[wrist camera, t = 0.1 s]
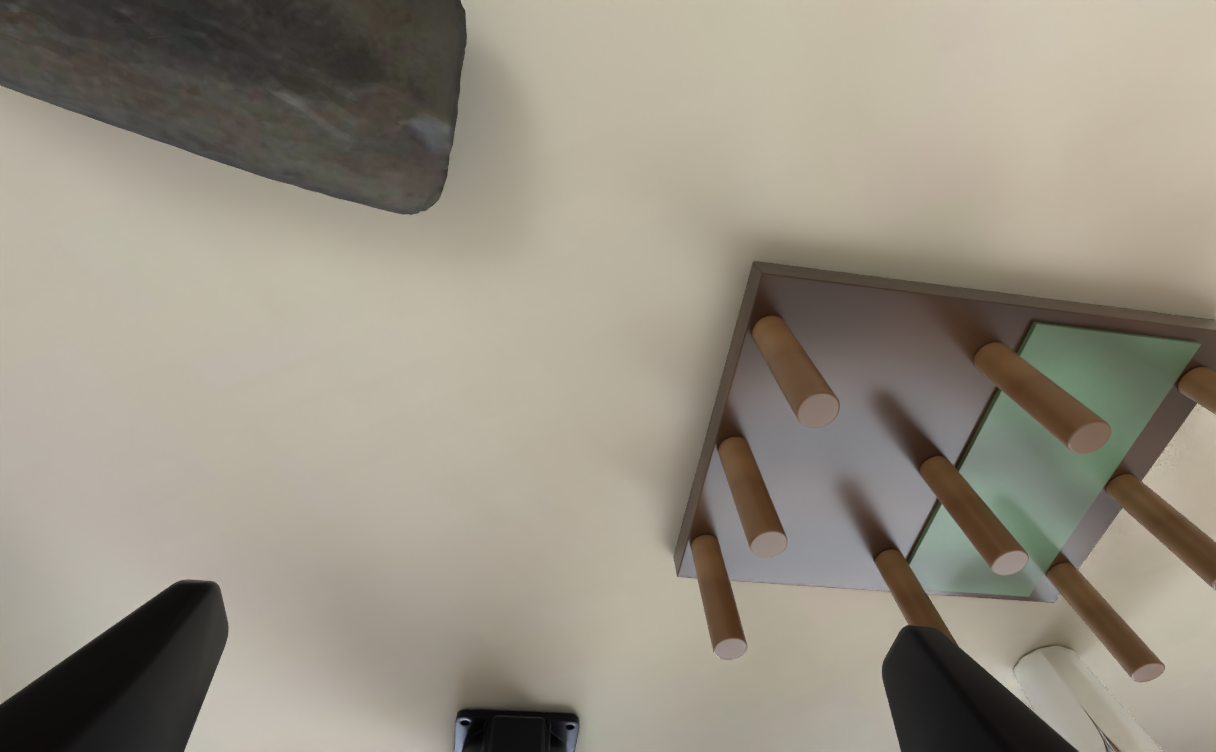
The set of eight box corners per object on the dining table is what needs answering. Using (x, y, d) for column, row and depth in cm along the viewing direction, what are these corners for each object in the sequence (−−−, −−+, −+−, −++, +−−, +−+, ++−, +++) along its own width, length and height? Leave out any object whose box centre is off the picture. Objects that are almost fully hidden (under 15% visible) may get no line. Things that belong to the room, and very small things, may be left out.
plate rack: (1037, 583, 30) (1138, 705, 25) (673, 556, 28) (696, 683, 23) (1217, 319, 23) (1410, 410, 18) (752, 260, 21) (812, 342, 16)
